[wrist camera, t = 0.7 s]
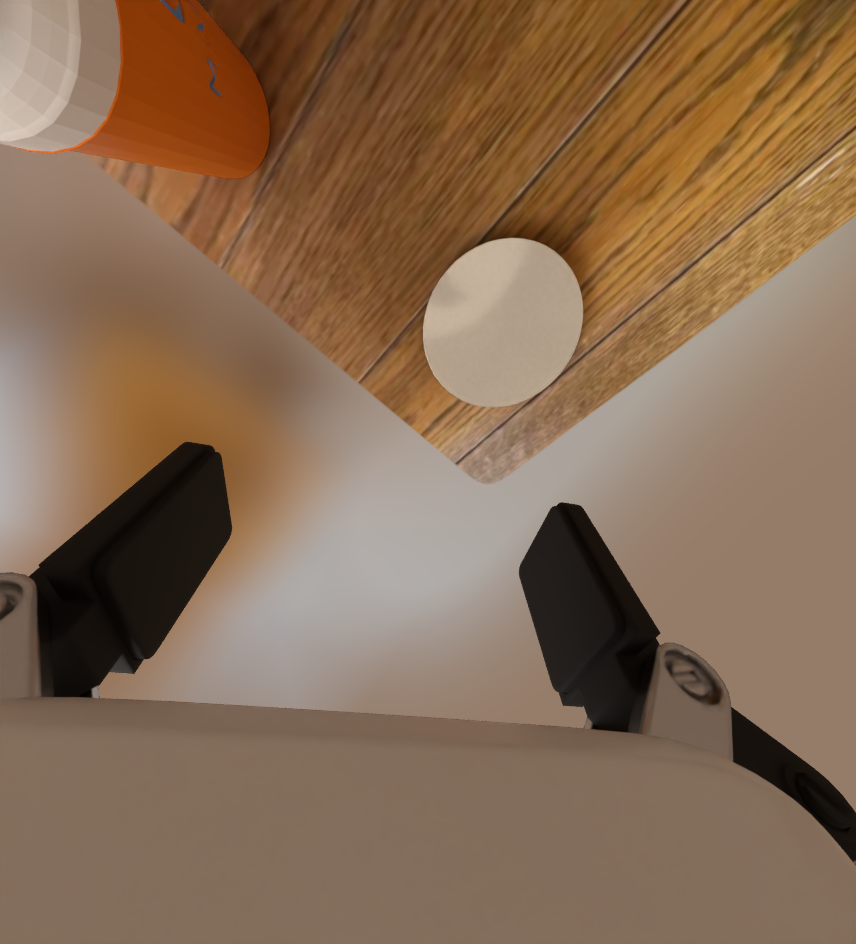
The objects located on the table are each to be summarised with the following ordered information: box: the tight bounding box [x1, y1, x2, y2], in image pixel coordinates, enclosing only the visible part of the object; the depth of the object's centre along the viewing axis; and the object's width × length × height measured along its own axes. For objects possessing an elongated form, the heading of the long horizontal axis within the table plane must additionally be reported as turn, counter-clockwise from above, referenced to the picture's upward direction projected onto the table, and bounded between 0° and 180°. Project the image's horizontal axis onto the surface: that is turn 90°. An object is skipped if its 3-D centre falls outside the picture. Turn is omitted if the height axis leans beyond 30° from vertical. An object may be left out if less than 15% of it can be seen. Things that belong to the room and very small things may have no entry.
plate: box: [423, 237, 583, 407], centre depth 30 cm, size 14×14×2 cm
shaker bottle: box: [0, 0, 270, 179], centre depth 14 cm, size 9×9×20 cm
